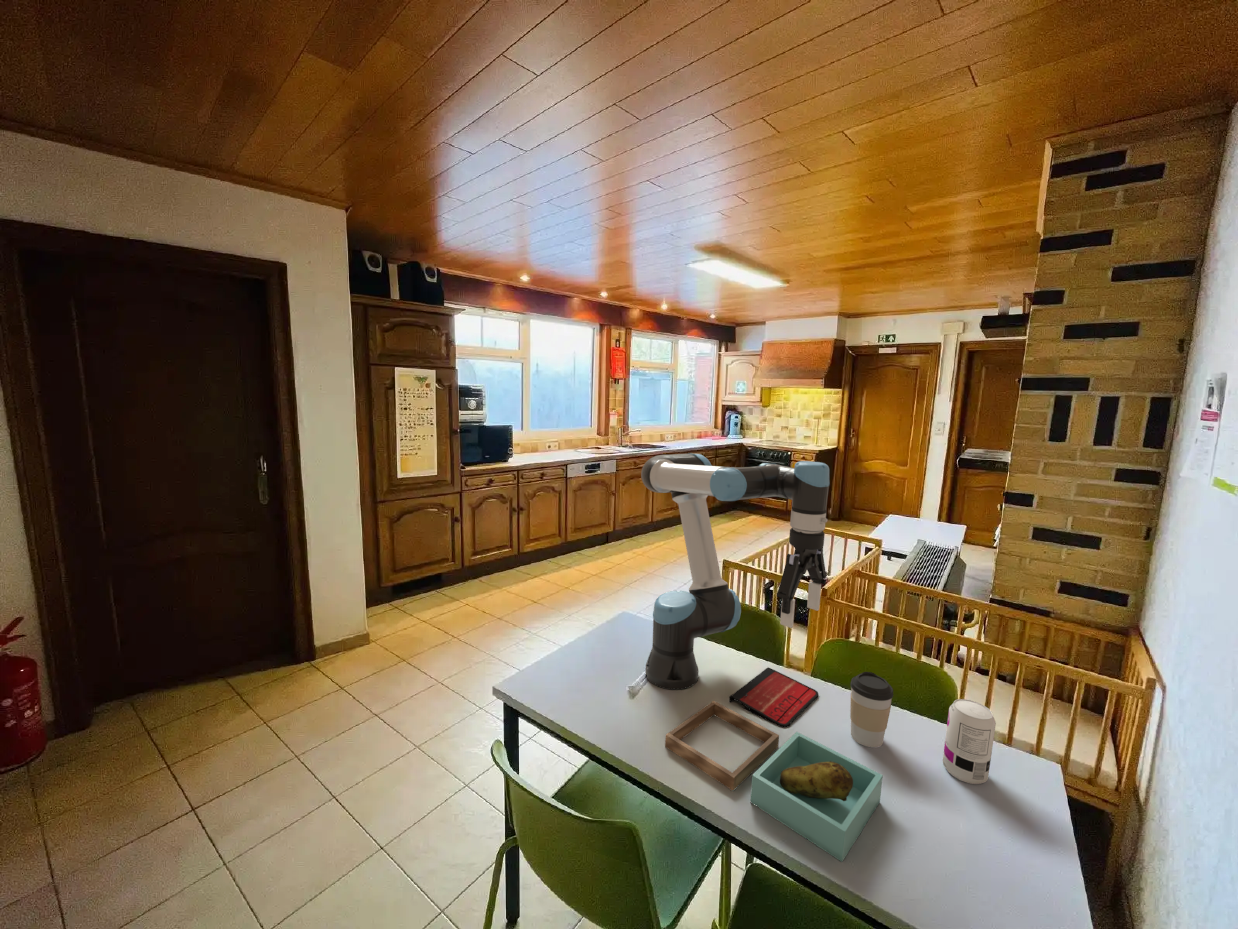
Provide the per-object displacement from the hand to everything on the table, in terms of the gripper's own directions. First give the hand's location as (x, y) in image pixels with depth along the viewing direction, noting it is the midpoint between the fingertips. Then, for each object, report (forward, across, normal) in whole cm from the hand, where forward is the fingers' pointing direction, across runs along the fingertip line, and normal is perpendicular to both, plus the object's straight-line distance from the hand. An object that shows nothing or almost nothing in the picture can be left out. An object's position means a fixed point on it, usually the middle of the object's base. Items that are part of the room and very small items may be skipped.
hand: (800, 617), depth 120 cm
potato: (+28, -18, -14) cm, 36 cm away
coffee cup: (+29, +10, -14) cm, 34 cm away
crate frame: (+29, -18, +8) cm, 35 cm away
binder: (+29, +9, +9) cm, 32 cm away
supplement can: (+29, +14, -33) cm, 46 cm away
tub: (+29, -18, -14) cm, 37 cm away
